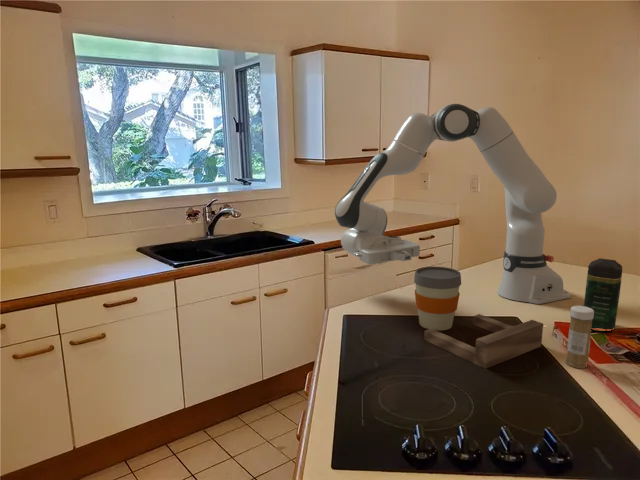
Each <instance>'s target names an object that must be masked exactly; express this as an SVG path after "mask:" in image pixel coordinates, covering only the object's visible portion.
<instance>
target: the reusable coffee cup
mask: <svg viewBox="0 0 640 480" xmlns="http://www.w3.org/2000/svg"><path fill="white" fill-rule="evenodd" d="M461 274H462V273H461V272H460V271H459V270H457V269H455V268H451V267H445V266H424V267H419V268H417V269H415V273H414V279H413V282H414V284H415V290H414V297H415V298H414V299H415V307H416V309H417V313H418V323H419V325H420V326H421V327H422V328H424V329H426V330H429V329H434V330H436V331H446V330H449V329H452V328H453V322H454V318H455V312H456V311H457V310H458V305H459V299H460V295H461V294H460V292H459V290H460V287H461V285H462V275H461Z"/></svg>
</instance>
